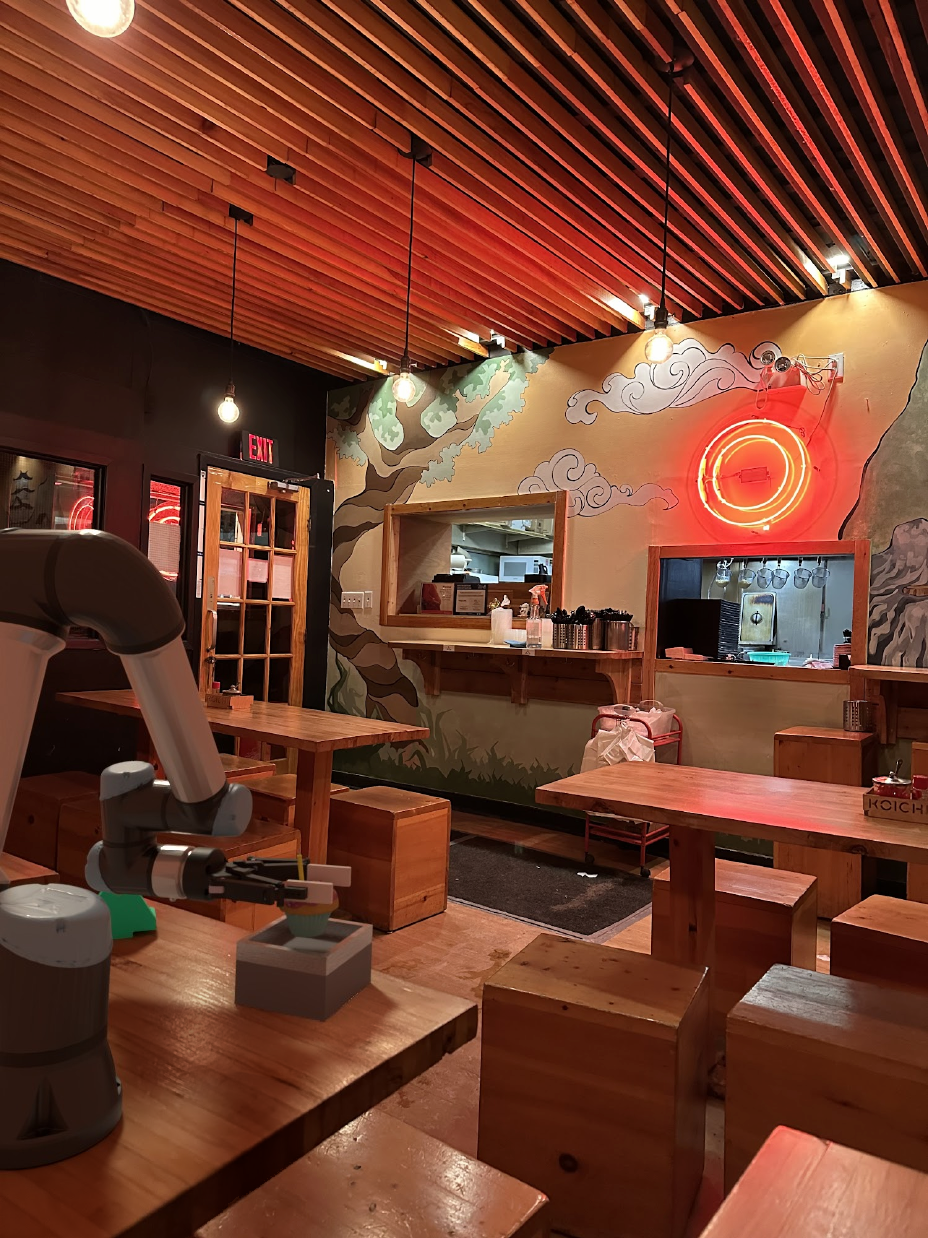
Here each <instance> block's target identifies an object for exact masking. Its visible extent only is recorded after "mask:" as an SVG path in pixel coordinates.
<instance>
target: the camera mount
mask: <svg viewBox="0 0 928 1238" xmlns="http://www.w3.org/2000/svg"><path fill="white" fill-rule="evenodd" d="M98 895H99V896H100V897H101V898H102V899H103V900H104V901H105V902H106V903H107V906H108V908H109V909H110V914H111V933H112V937H113V940H119V939H128V938H133V936H134V932H143V931H144V932H145V931H155V930H157V915H156V908H155V907H153V906H149V905H148V903H147V902H146V900H145V898H144V896H143V895H129V894H124V895H122V894H120V895H117V894H113V893H109V892H103V891H99V893H98Z"/></svg>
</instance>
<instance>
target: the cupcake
mask: <svg viewBox="0 0 928 1238" xmlns="http://www.w3.org/2000/svg"><path fill="white" fill-rule="evenodd" d="M296 851H297V855H296V859H297V861H298V871H299V880H301V881H304V874H303V864H302V859H303V856H302V854H300V850H299V849H296ZM308 881H309V880H308ZM311 881H313V880H311ZM313 882H321V880H320V881H316V880H314V881H313ZM338 894H339V893H338V892H337V891H336V889H335V888H333V903H332V904H320V903H308V902H296V901H286V899H285V898H284V906H283V907H278V908H279V910H280V912H282V913H284V915H286V917H287V920H288V924H289V927H290V931H291V934H293V935H294V936H297V937H315V936H319V935H321V934H323V933H324V931H325V928H326V924H327V922H328V919H329V918H330V916H331V914H332V912H334V911H336V910H337V909H338V908H339V905H340V904H339V903H340V902H339V897H338Z"/></svg>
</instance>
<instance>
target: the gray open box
mask: <svg viewBox="0 0 928 1238" xmlns="http://www.w3.org/2000/svg"><path fill="white" fill-rule="evenodd" d="M341 941H342V939H336V938H330V937H324V936H315V937H297V936H294V935H293V934H291V932H290V933H288V934H286V935H285V936H283V937H281V938H280V939H278V940H276V941H275V942H273V943H271V945H277V946H283V947H289V948H295V949H300V950H306V951H312V952H318V953H323V954H324V953H325V952H327V951H328V950H329V949H331V948H332V947H334V946H335V945H337V944H338V943H340V942H341ZM372 951H373V941H372V942H371V943H370V944H368V945H367V946H366V947H364V948H363V949H362V950H360V951H359V952H358V953H356V954H355V955H354V956H352V957H351V958H350V959H348V960H347V961H346V962H344V963H343V964H342V965H340V966H339V967H338V968H336V969H335V970H334V971H332V972H331V973H330V974H328V975H327V976H322V975H316V974H311V973H305V972H300V971H295V970H289V969H284V968H278V967H273V966H267V965H262V964H256V963H251V962H245V961H240V960H236V959H235V976H234V977H235V978H234V980H235V981H234V1004H235V1005H239V1006H245V1007H249V1008H254V1009H259V1010H264V1011H269V1012H273V1013H278V1014H284V1015H289V1016H293V1017H299V1018H304V1019H309V1020H312V1021H317V1022H322V1023H325V1022H327V1020H329V1019H330V1018H331V1017H333V1015H334V1014H336V1013H337V1012H338V1011H339V1010H341V1009H342V1008H343V1007H344V1006H345V1005H346V1004H347V1003H349V1002H350V1001H351V1000H352V999H354V997H356V996H357V995H358V994H359V993H360V992H361V991H360V990H362V989H363V988H364V989H365V988H367V986H369V985H370V984H371V982H372V959H373V958H372V957H373V956H372V953H373V952H372ZM364 989H363V990H364ZM363 990H362V991H363ZM357 993H358V994H357ZM356 994H357V995H356ZM355 995H356V996H355ZM353 996H354V997H353ZM351 998H352V999H351ZM349 1000H350V1001H349ZM348 1001H349V1002H348ZM343 1005H344V1006H343ZM342 1006H343V1007H342ZM341 1007H342V1008H341Z"/></svg>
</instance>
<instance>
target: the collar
mask: <svg viewBox="0 0 928 1238" xmlns="http://www.w3.org/2000/svg"><path fill="white" fill-rule="evenodd" d="M373 926H374V925H373V924H370V923H363V922H357V921H351V920H344V919H339V918H332V917H329V919H328V922H327V924H326V928H325V931H324V933H323V934H321V935H319V936H324V937H330V938H336V939H342V941H341V942H340V943H338V944H337V945H335V946H334V947H332V948H331V949H329V950H328V951H327V952H325V953H324V954H323V953H318V952H312V951H306V950H300V949H295V948H289V947H283V946H277V945H271V943H273V942H275V941H276V940H278V939H280V938H281V937H283V936H285V935H286V934H288V933H290V932H291V931H290V927H289V924H288V920H287V917H286V915H285V914H284V915H282V916H280V917H278V918H277V919H276V918H275V920H273V921H271V922H269V923H267V924H265V925H264V926H262V927H260V928H259V929H257V930H255V931H253V932H252V933H249V934H247V935H246V936H244V937H242V938H240V939H239V940H236V949H235V950H236V952H235V961H236V960H240V961H245V962H251V963H256V964H262V965H267V966H273V967H278V968H284V969H289V970H295V971H300V972H305V973H311V974H316V975H322V976H327V975H328V974H330V973H331V972H332V971H334V970H335V969H336V968H338V967H339V966H340V965H342V964H343V963H344V962H346V961H347V960H348V959H350V958H351V957H352V956H354V955H355V954H356V953H358V952H359V951H360V950H362V949H363V948H364V947H366V946H367V945H368V944H370V943H371V942H372V943H373V930H374V929H373V928H374V927H373Z"/></svg>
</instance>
